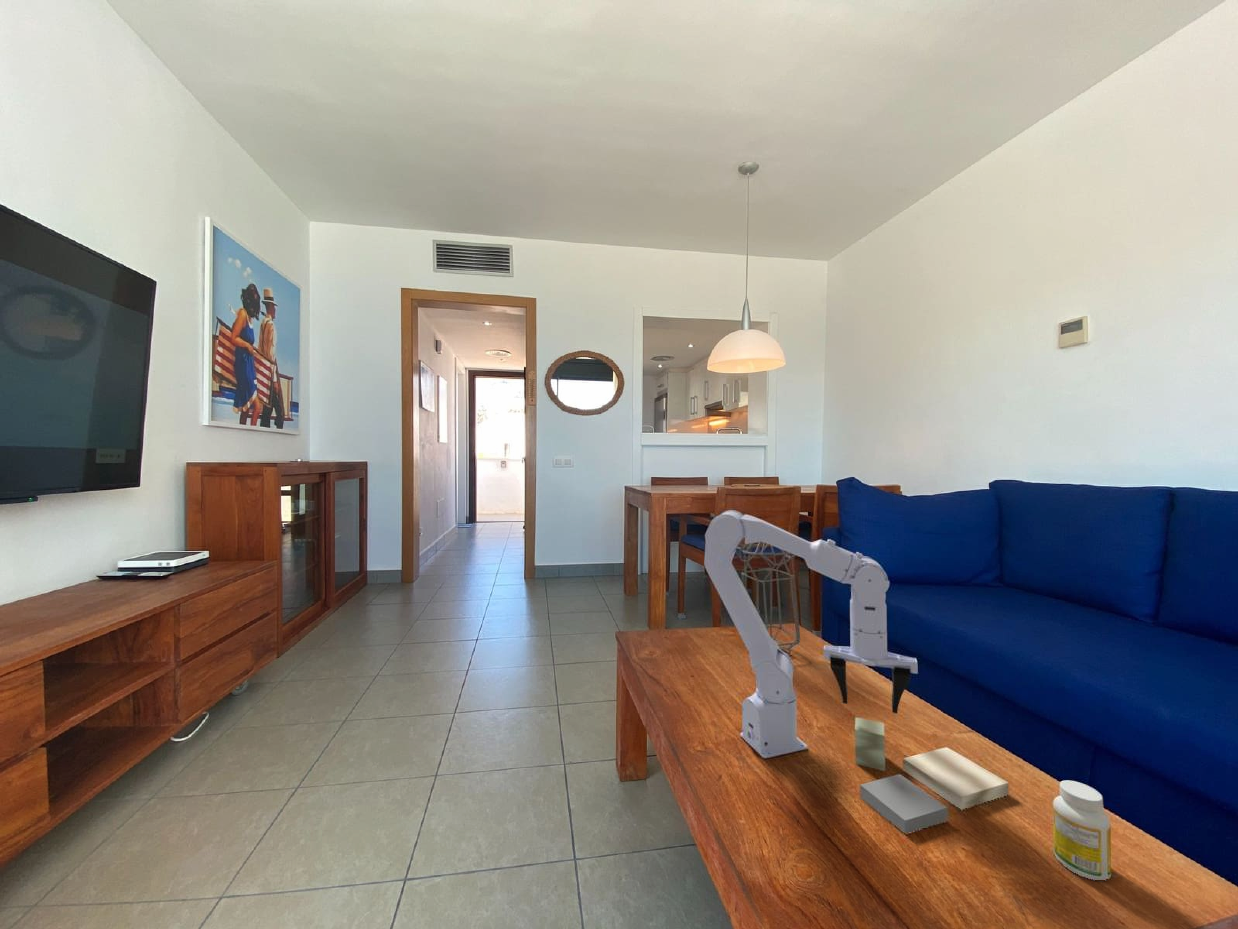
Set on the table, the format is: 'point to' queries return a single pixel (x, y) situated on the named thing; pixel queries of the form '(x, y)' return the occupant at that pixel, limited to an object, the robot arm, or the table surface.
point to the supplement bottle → (1082, 831)
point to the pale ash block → (955, 777)
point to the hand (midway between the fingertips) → (869, 705)
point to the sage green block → (869, 743)
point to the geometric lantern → (771, 587)
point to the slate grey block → (903, 803)
